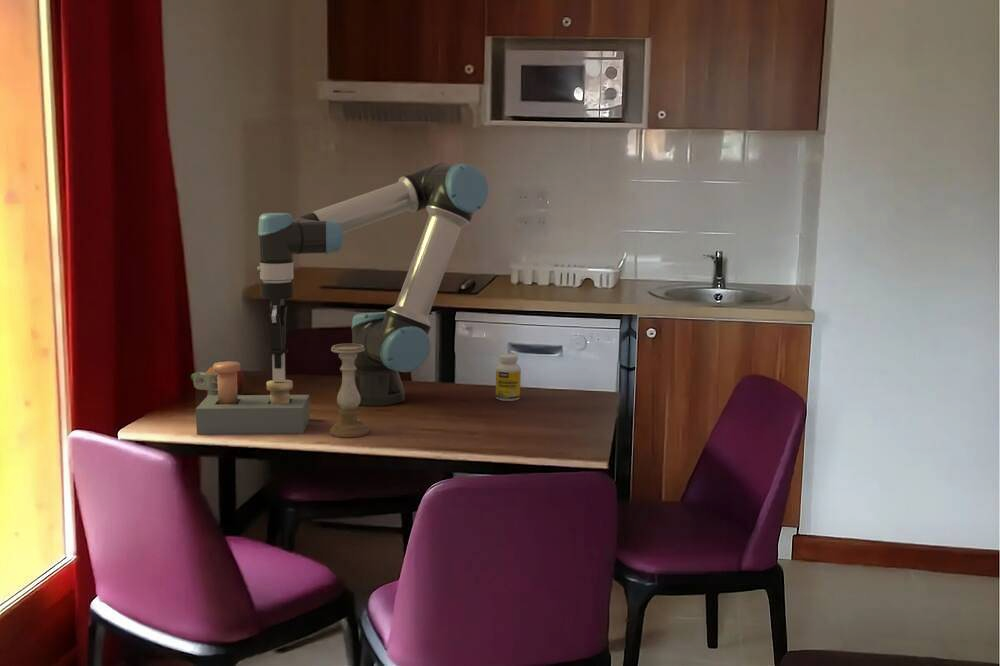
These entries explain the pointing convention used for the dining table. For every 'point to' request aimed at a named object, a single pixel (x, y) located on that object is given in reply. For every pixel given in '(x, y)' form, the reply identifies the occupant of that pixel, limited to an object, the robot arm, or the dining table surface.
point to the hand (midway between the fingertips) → (279, 381)
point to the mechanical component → (206, 382)
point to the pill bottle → (508, 378)
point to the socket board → (252, 415)
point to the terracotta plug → (227, 381)
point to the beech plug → (279, 391)
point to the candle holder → (348, 394)
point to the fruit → (239, 378)
